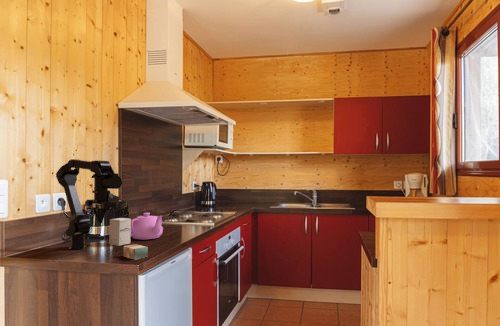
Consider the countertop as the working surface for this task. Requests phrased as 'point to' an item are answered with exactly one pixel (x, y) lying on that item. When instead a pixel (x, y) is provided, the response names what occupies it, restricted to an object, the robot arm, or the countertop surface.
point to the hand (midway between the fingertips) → (100, 222)
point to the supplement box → (120, 231)
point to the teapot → (146, 227)
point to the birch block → (135, 251)
